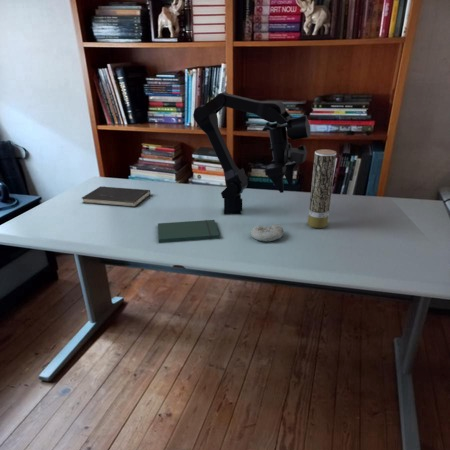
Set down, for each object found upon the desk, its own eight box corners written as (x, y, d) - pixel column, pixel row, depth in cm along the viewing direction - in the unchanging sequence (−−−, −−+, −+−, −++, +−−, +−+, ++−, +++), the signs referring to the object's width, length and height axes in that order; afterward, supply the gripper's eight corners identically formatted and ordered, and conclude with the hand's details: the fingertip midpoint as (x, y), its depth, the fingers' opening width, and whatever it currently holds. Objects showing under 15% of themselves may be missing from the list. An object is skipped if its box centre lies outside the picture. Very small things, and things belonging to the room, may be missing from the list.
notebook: (158, 242, 136) (158, 239, 135) (158, 226, 148) (157, 223, 147) (219, 238, 138) (219, 234, 138) (214, 222, 150) (214, 219, 149)
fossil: (274, 217, 142) (291, 231, 136) (273, 227, 145) (289, 241, 138) (246, 223, 138) (262, 237, 131) (245, 233, 140) (260, 247, 133)
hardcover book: (134, 207, 165) (134, 201, 163) (82, 203, 169) (81, 197, 168) (150, 194, 178) (150, 189, 176) (101, 191, 183) (100, 186, 181)
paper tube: (328, 223, 148) (337, 150, 135) (325, 230, 143) (335, 155, 130) (309, 220, 150) (316, 148, 137) (306, 227, 145) (313, 153, 132)
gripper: (293, 145, 129) (300, 194, 136) (310, 133, 143) (316, 178, 150) (260, 150, 134) (268, 197, 141) (280, 138, 148) (287, 182, 155)
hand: (286, 188), depth 147 cm, fingers open, 9 cm apart
